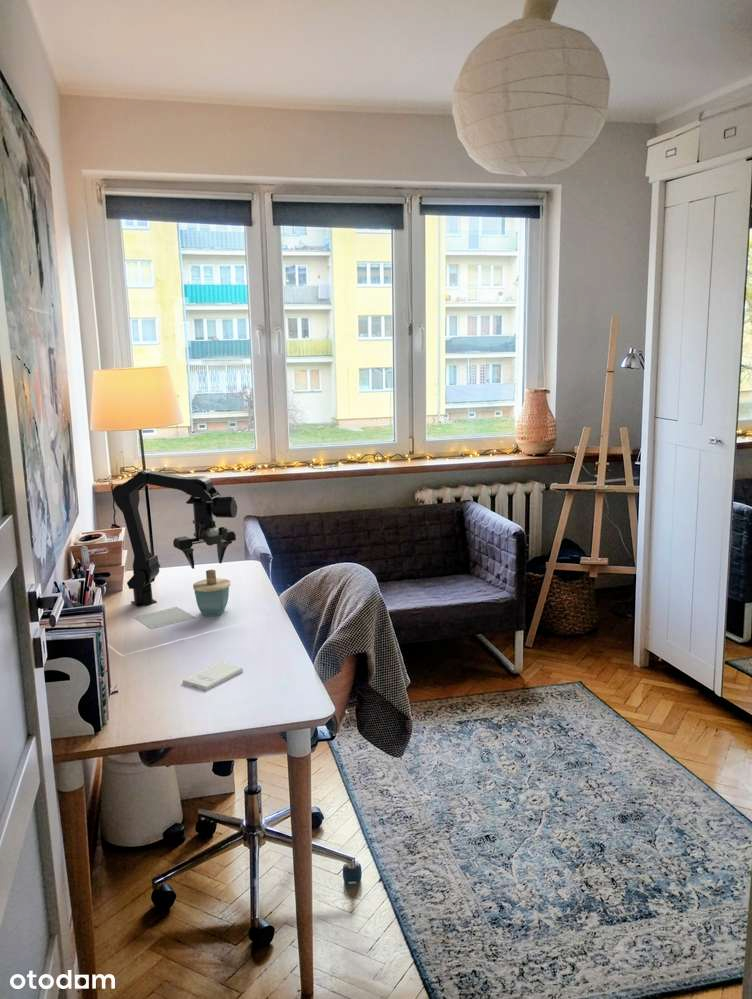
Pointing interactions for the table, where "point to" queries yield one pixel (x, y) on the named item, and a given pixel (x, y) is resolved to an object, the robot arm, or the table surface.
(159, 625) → the mat
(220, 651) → the table surface
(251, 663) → the table surface
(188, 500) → the robot arm
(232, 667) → the external hard drive
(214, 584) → the lid
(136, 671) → the table surface
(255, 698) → the table surface
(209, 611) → the flower pot
